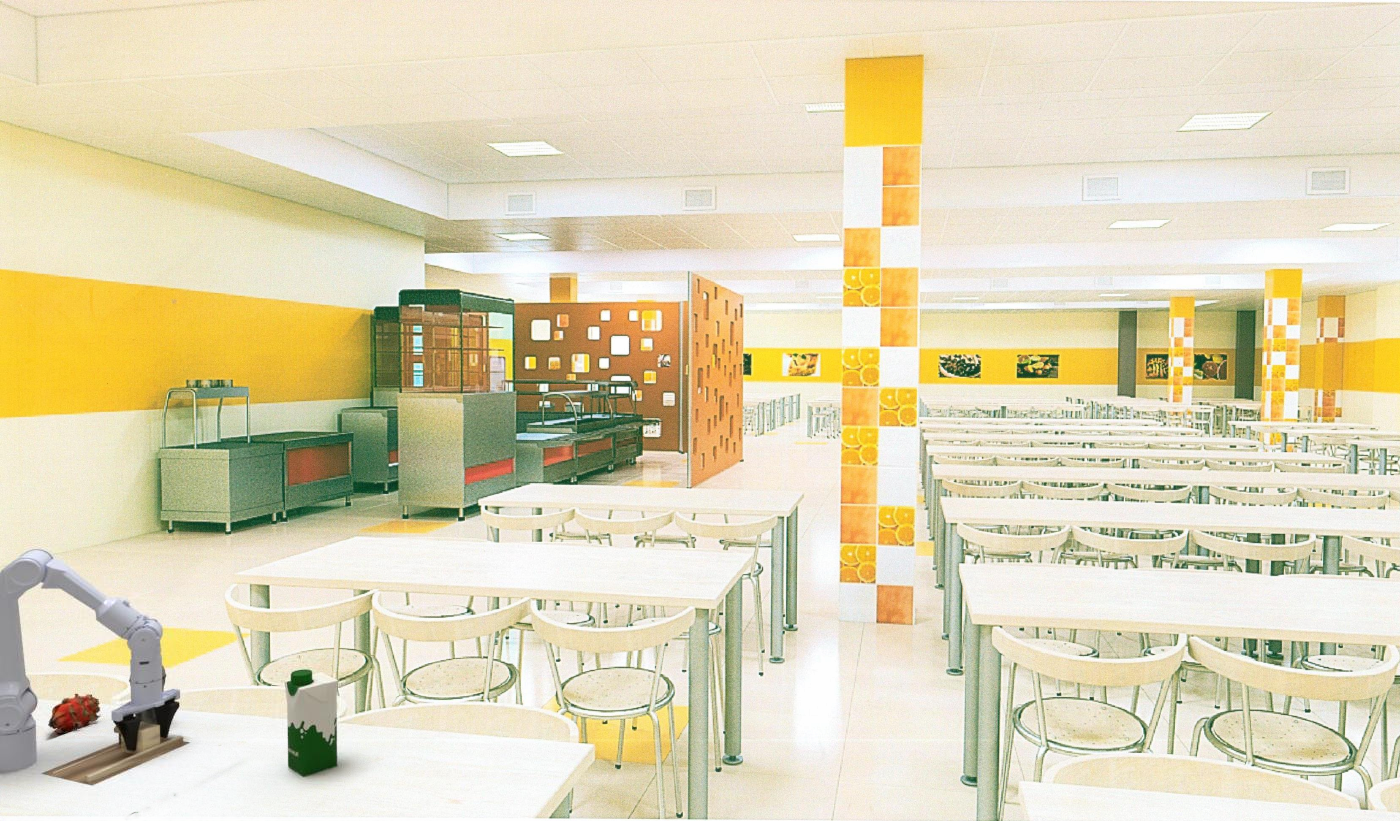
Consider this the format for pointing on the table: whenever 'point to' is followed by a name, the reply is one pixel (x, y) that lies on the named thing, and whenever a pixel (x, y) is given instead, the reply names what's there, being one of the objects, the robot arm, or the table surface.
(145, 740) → the block
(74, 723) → the dragon fruit
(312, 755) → the milk carton
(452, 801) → the table surface
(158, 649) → the robot arm
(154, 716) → the beverage cup
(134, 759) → the walnut board
